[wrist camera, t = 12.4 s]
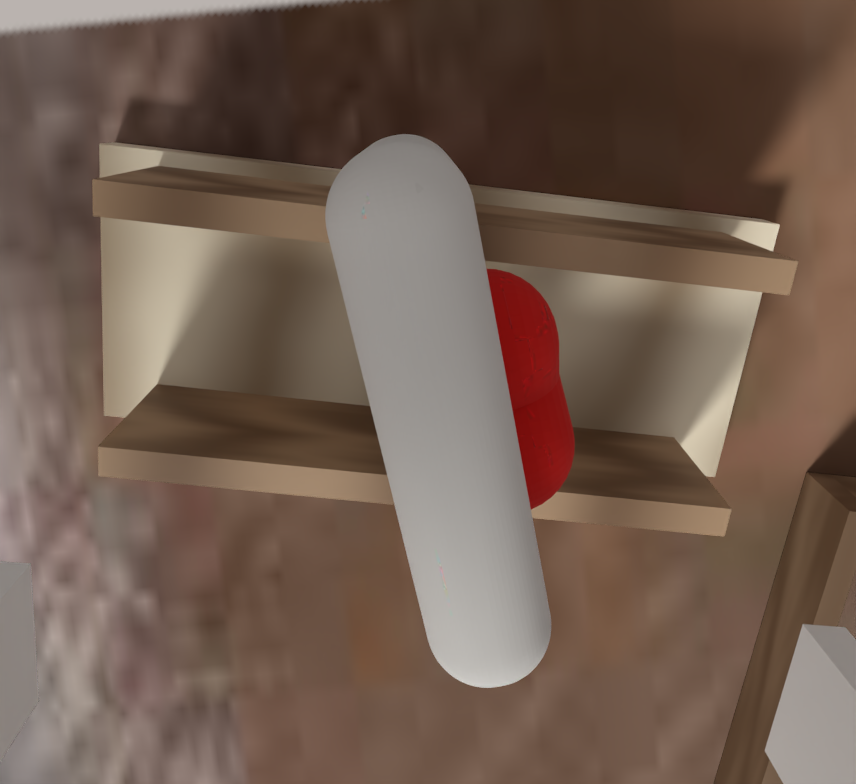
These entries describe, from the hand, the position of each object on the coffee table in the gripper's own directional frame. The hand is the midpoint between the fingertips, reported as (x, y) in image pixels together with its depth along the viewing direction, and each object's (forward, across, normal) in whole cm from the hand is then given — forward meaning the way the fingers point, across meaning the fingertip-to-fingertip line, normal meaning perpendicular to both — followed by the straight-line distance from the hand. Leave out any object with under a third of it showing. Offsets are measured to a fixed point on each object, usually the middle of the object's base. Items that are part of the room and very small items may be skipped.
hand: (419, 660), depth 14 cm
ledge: (+19, 0, +2) cm, 19 cm away
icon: (+13, +1, +3) cm, 13 cm away
